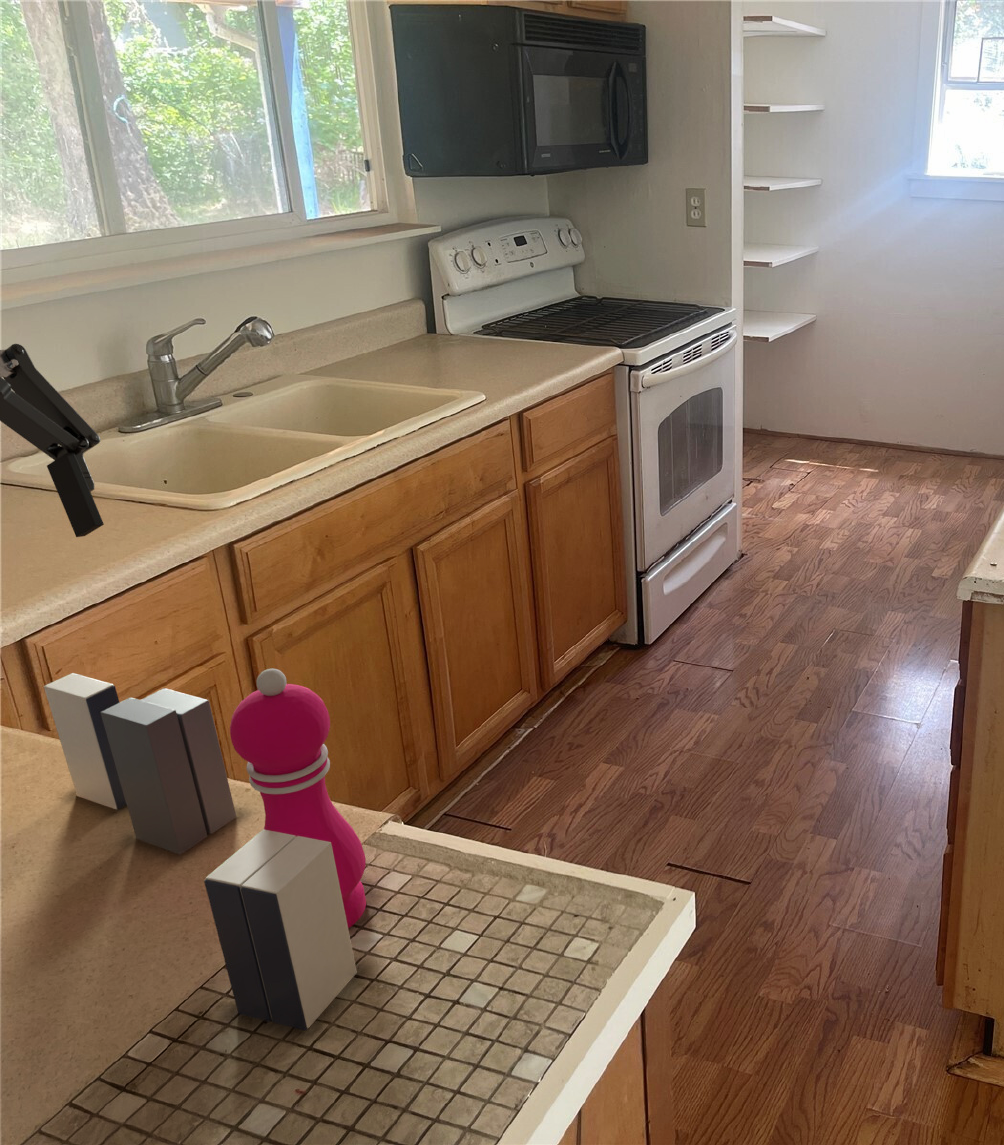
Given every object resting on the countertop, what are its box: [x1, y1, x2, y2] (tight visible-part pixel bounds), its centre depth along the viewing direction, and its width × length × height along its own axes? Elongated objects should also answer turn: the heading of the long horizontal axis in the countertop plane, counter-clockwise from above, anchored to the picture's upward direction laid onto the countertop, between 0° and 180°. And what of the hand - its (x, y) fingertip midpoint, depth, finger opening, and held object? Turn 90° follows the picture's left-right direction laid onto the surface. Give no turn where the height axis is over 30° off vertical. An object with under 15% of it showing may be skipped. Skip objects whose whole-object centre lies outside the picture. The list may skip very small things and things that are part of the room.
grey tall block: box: [203, 828, 358, 1031], centre depth 67 cm, size 5×5×11 cm
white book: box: [43, 672, 127, 811], centre depth 88 cm, size 2×5×11 cm, turn 66°
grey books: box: [101, 687, 237, 855], centre depth 84 cm, size 5×5×12 cm
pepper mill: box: [229, 668, 367, 929], centre depth 73 cm, size 7×7×20 cm
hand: (8, 541), depth 84 cm, fingers open, 13 cm apart
